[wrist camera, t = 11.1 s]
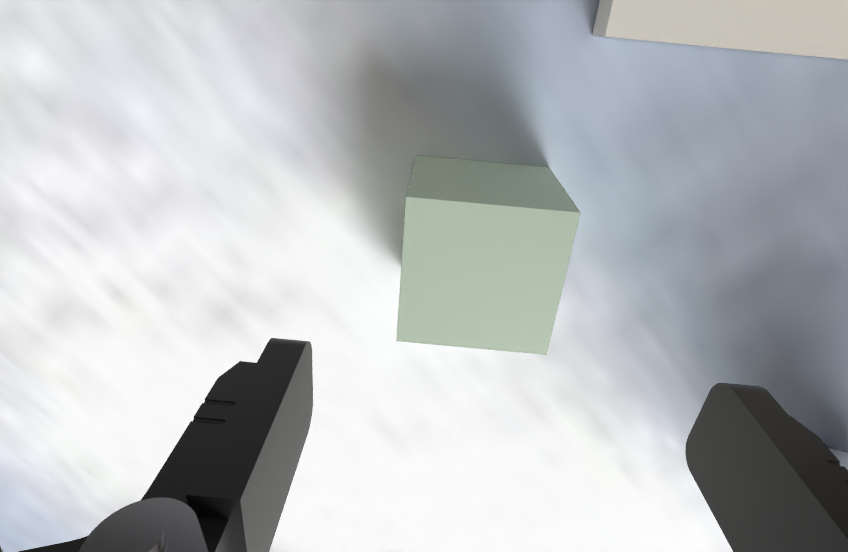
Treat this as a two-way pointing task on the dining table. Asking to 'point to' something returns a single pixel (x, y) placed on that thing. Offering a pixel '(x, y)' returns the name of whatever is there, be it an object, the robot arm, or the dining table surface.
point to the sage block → (483, 254)
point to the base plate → (732, 24)
